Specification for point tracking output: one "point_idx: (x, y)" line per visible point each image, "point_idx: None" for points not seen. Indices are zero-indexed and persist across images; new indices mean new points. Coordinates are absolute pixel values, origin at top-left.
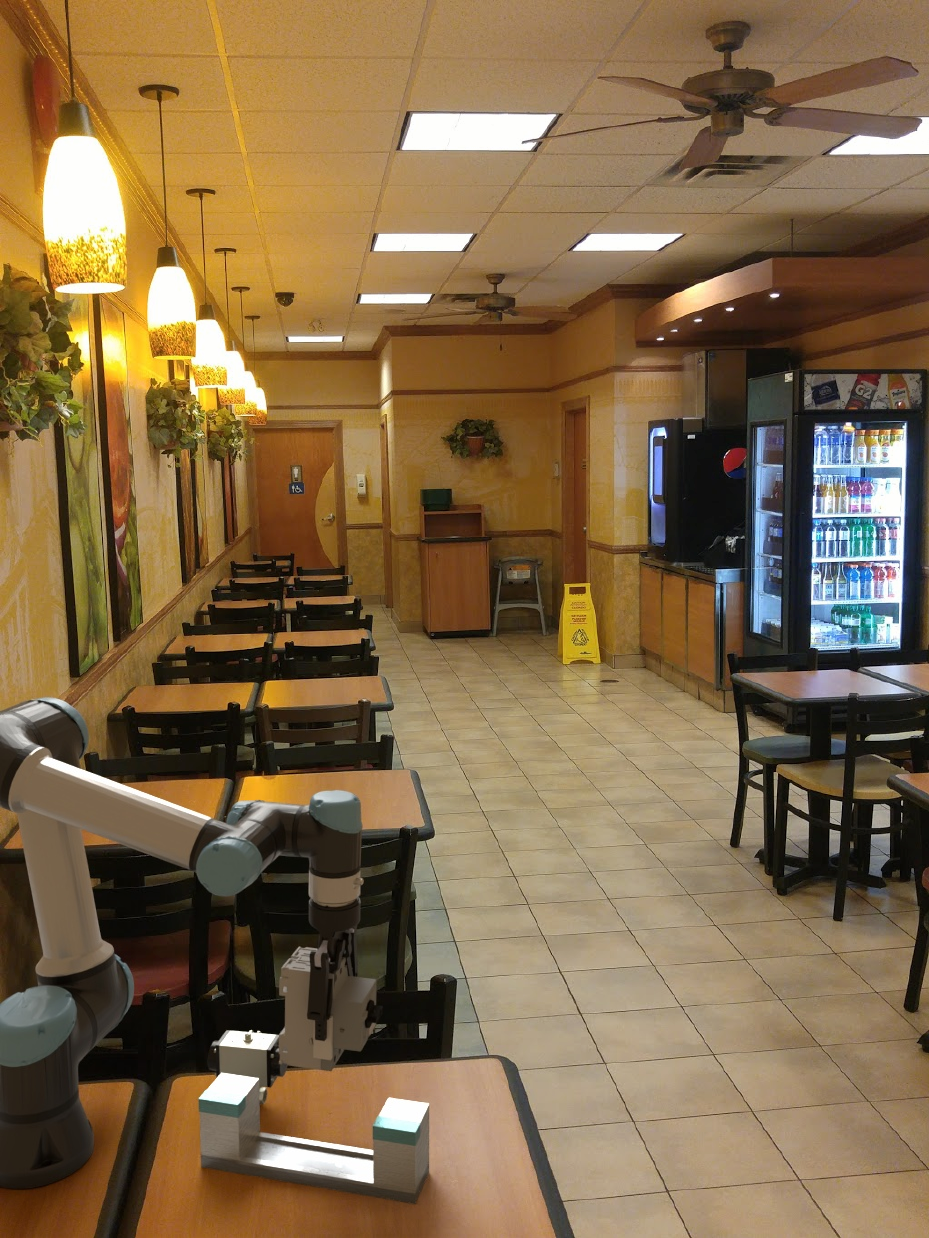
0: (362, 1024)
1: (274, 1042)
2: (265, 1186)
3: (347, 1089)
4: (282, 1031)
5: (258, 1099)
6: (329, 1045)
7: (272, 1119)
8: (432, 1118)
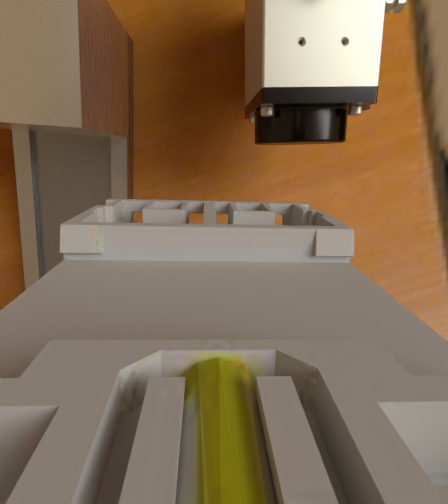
0: None
1: (319, 100)
2: (9, 200)
3: (355, 256)
4: (99, 232)
5: (97, 132)
6: None
7: (225, 133)
8: None
